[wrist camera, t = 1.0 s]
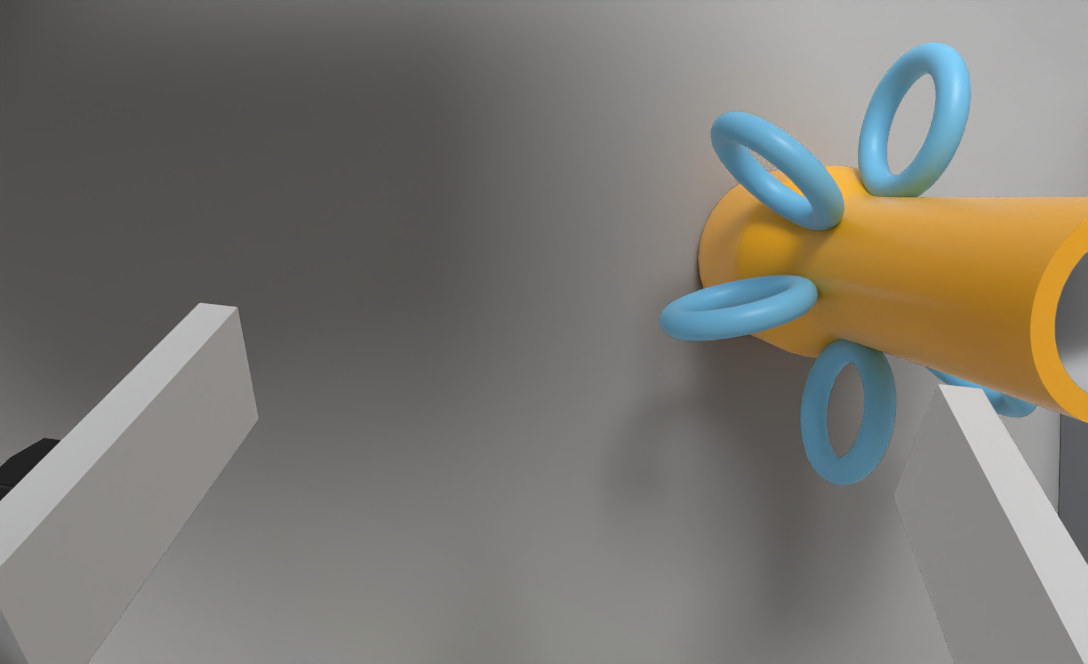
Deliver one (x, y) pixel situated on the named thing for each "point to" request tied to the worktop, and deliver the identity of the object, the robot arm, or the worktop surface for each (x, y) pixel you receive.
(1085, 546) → the tan and grey tray
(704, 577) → the worktop surface
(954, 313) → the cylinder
